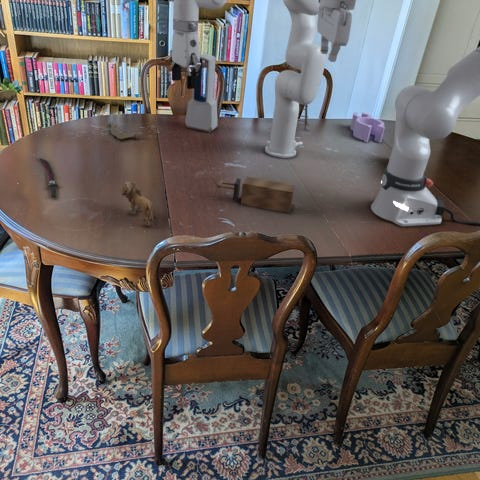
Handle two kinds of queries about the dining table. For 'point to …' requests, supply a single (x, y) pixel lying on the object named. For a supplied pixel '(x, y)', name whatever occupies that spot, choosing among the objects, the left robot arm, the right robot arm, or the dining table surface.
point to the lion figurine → (137, 201)
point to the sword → (52, 181)
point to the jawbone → (122, 135)
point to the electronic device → (203, 100)
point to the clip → (367, 127)
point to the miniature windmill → (305, 111)
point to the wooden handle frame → (235, 188)
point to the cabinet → (267, 194)
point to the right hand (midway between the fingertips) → (327, 57)
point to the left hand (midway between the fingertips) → (183, 84)
